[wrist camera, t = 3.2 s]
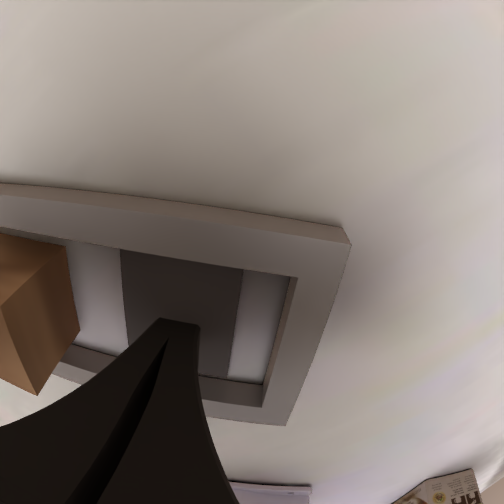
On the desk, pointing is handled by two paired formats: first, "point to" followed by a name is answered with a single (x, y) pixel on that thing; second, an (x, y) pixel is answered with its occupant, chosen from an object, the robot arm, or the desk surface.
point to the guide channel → (212, 252)
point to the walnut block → (34, 311)
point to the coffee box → (445, 490)
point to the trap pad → (183, 301)
